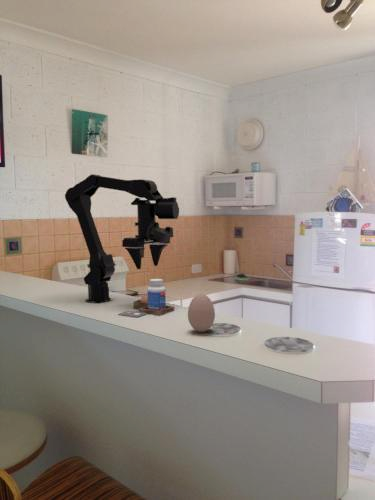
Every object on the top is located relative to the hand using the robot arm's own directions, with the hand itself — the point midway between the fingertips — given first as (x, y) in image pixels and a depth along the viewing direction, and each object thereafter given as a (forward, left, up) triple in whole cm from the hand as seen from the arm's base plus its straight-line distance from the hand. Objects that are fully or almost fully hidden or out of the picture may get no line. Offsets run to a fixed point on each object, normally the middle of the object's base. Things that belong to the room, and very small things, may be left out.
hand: (147, 267), depth 150 cm
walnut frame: (+3, -5, -12) cm, 13 cm away
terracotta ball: (+3, -5, -12) cm, 13 cm away
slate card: (+5, -15, -12) cm, 19 cm away
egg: (+32, -21, -12) cm, 40 cm away
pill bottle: (+9, -8, -12) cm, 17 cm away
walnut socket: (+9, -8, -12) cm, 17 cm away
